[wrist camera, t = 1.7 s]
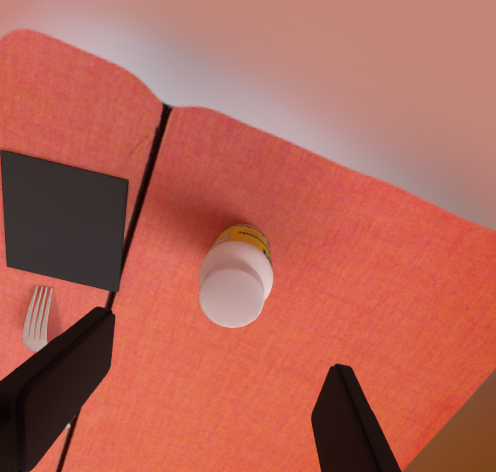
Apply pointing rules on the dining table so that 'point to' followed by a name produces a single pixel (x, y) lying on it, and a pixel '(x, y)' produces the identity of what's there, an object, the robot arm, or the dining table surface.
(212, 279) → the supplement bottle
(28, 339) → the fork
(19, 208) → the mat
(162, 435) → the dining table surface
